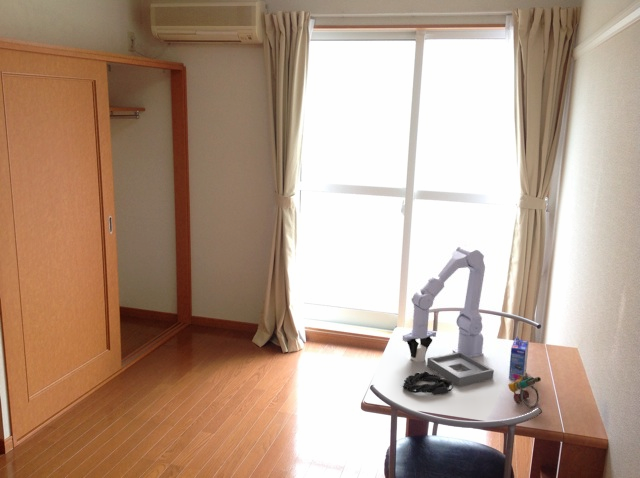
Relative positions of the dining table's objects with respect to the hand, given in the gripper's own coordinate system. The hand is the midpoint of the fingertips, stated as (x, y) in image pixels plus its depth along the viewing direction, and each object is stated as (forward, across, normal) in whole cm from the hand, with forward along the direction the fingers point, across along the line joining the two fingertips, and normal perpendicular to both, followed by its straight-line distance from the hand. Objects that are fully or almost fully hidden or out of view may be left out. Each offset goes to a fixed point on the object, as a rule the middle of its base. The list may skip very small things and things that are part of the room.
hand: (418, 356), depth 222 cm
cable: (+2, +12, +20) cm, 23 cm away
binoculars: (+2, -12, +42) cm, 44 cm away
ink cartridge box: (+2, -26, +26) cm, 37 cm away
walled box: (+1, -7, +16) cm, 18 cm away
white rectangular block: (+1, 0, 0) cm, 1 cm away
